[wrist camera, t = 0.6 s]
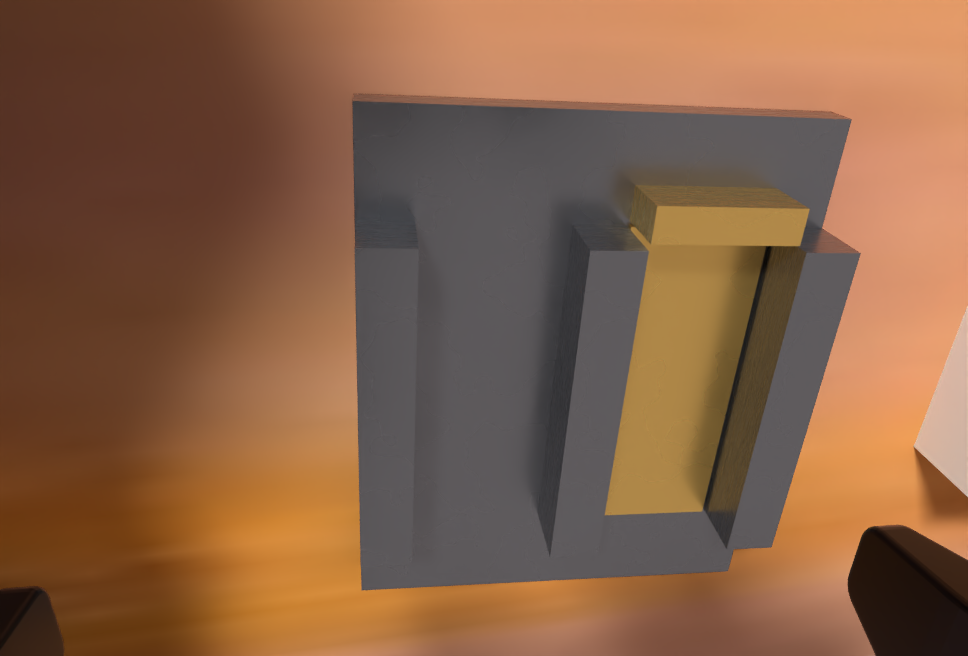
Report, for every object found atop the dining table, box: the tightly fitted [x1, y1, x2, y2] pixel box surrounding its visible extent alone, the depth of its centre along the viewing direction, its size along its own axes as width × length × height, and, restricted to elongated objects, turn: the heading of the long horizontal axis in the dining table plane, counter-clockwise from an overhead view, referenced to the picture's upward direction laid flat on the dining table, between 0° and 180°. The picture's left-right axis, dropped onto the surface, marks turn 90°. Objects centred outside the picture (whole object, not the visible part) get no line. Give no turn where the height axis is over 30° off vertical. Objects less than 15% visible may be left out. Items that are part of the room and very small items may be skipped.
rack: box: [353, 94, 861, 590], centre depth 22 cm, size 16×13×3 cm
